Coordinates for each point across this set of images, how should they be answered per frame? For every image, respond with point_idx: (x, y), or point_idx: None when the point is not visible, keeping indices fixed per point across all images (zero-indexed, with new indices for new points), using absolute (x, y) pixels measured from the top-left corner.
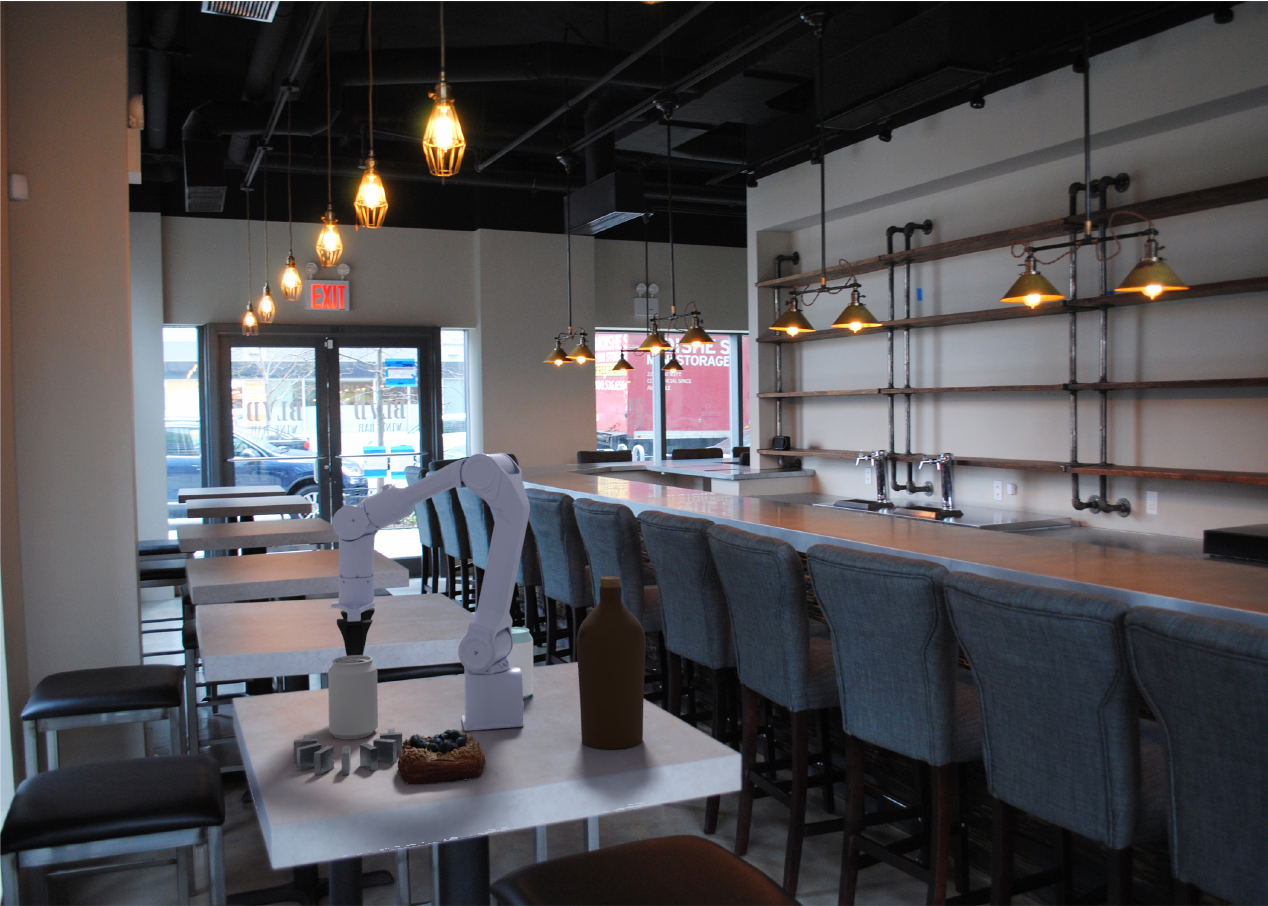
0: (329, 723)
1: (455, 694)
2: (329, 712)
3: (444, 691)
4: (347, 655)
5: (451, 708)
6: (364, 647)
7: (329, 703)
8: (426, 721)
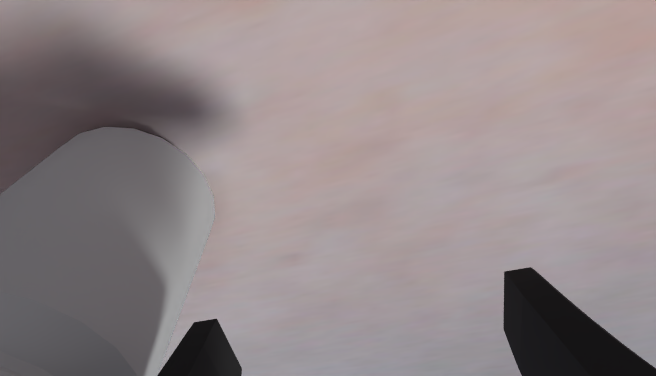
0: (58, 149)
1: None
2: (30, 171)
3: None
4: (167, 361)
5: (400, 364)
6: (516, 357)
7: (3, 192)
8: (280, 336)
